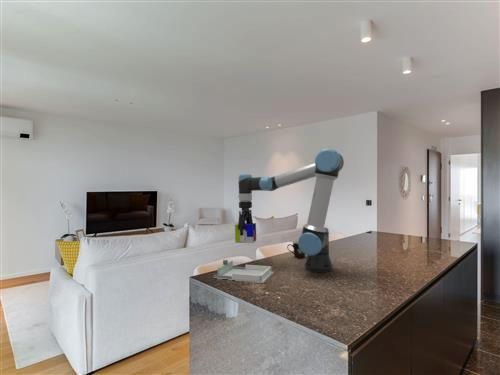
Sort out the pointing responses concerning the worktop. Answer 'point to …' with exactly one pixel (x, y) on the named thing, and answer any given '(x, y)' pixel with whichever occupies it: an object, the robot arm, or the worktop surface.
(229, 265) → the gate
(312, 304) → the worktop surface
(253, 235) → the puzzle toy
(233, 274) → the housing
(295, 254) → the coffee mug
